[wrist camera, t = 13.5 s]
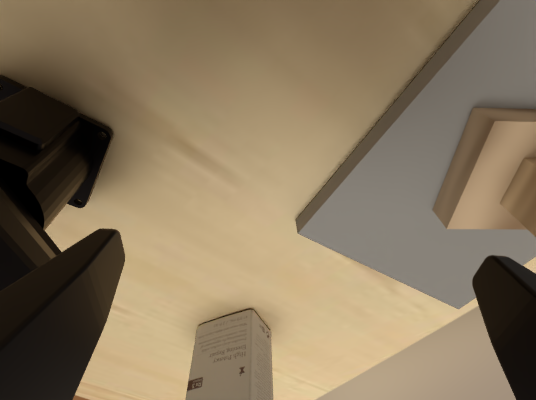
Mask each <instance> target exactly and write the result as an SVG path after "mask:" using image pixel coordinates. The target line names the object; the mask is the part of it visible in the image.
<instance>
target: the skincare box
mask: <svg viewBox="0 0 536 400" xmlns="http://www.w3.org/2000/svg"><path fill="white" fill-rule="evenodd" d="M186 400H273V378H272V352H271V332H270V331H269V329H268V328H267V326H266V325H265V324H264V322H263V321H262V320H261V319H260V317H259V316H258V315H257V314H256V313H255V311H254V310H246V311H243V312H240V313H236V314H233V315H229V316H226V317H222V318H219V319H216V320H213V321H210V322H207V323H204V324H202V325H200V326H199V327H198V328H197V332H196V338H195V344H194V350H193V356H192V363H191V369H190V375H189V381H188V387H187V394H186Z"/></svg>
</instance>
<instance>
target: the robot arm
mask: <svg viewBox="0 0 536 400" xmlns="http://www.w3.org/2000/svg"><path fill="white" fill-rule="evenodd" d="M0 84H1V85H2V86H3V89H2V88H0V400H73V397H74V395H75V393H76V390H77V388H78V386H79V384H80V381H81V379H82V377H83V374H84V372H85V370H86V368H87V365H88V363H89V361H90V358H91V356H92V354H93V352H94V349H95V347H96V345H97V342H98V340H99V338H100V336H101V333H102V331H103V328H104V326H105V323H106V321H107V318H108V315H109V312H110V308H111V305H112V302H113V299H114V295H115V292H116V289H117V286H118V282H119V279H120V276H121V273H122V270H123V266H124V262H125V253H124V248H123V244H122V240H121V235H120V233H119V231H118V230H116V229H98V230H96V231H95V232H93V233H92V234H90V235H88V236H87V237H85V238H84V239H82V240H80V241H79V242H77V243H76V244H74V245H73V246H71V247H69V248H68V249H66V250H65V251H63V252H61V251H60V250H59V248H58V247H57V246H56V245H55V243H54V242H53V241H52V240H51V238H50V237H49V236H48V235H47V233H46V232H45V229H46V228H47V227H48V226H49V224H50V223H51V222H52V221H53V220H54V218H55V217H56V216H57V215H58V213H59V212H60V211H61V210H62V209H63V207H64V206H65V205H66V204H69V205H72V206H74V207H77V208H83V207H85V205H86V204H87V203H88V201H89V198H90V196H91V193H92V190H93V188H94V185H95V183H96V180H97V177H98V175H99V172H100V170H101V167H102V164H103V162H104V159H105V157H106V154H107V151H108V149H109V146H110V144H111V141H112V138H113V132H112V130H111V129H110V128H109V127H107V126H105V125H103V124H101V123H99V122H97V121H95V120H93V119H91V118H89V117H87V116H85V115H83V114H80V113H79V112H78V111H77V110H76V109H74V108H72V107H70V106H68V105H66V104H64V103H62V102H60V101H58V100H56V99H54V98H52V97H50V96H48V95H46V94H44V93H42V92H40V91H38V90H36V89H34V88H31V87H29V88H27V87H25V86H23V85H21V84H19V83H17V82H15V81H13V80H11V79H9V78H7V77H5V76H2V75H0ZM100 132H103V133H105V134H106V137H103V136H102V135H101V134H100ZM77 199H79V200H81V201H82V202H81V201H78V200H77ZM472 286H473V289H474V292H475V295H476V298H477V301H478V305H479V308H480V310H481V313H482V316H483V319H484V323H485V326H486V329H487V332H488V334H489V337H490V340H491V343H492V346H493V348H494V350H495V353H496V355H497V357H498V360H499V362H500V364H501V366H502V368H503V371H504V373H505V375H506V378H507V380H508V382H509V384H510V387H511V389H512V391H513V393H514V396H515V398H516V400H536V274H535V273H533V272H532V271H530V270H529V269H527V268H525V267H524V266H522V265H521V264H519V263H517V262H516V261H514V260H513V259H511V258H509V257H507V256H498V255H490V256H488V257H486V258H485V259H484V261H483V262H482V264H481V265H480V267H479V269H478V270H477V272H476V273H475V275H474V276H473V279H472Z"/></svg>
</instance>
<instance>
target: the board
mask: <svg viewBox="0 0 536 400" xmlns="http://www.w3.org/2000/svg"><path fill="white" fill-rule="evenodd" d="M473 108H512V109H536V0H480V1H479V2H478V3H477V4H476V6H475V7H474V8H473V9H472V10H471V12H470V13H469V14H468V15H467V16H466V18H465V19H464V20H463V21H462V22H461V24H460V25H459V26H458V27H457V28H456V30H455V31H454V32H453V33H452V34H451V35H450V37H449V38H448V39H447V40H446V41H445V43H444V44H443V45H442V46H441V47H440V49H439V50H438V51H437V52H436V53H435V55H434V56H433V57H432V58H431V59H430V61H429V62H428V63H427V64H426V65H425V66H424V68H423V69H422V70H421V71H420V72H419V74H418V75H417V76H416V77H415V78H414V80H413V81H412V82H411V83H410V84H409V86H408V87H407V88H406V89H405V90H404V92H403V93H402V94H401V95H400V96H399V97H398V99H397V100H396V101H395V102H394V103H393V105H392V106H391V107H390V108H389V109H388V111H387V112H386V113H385V114H384V115H383V117H382V118H381V119H380V120H379V121H378V123H377V124H376V125H375V126H374V127H373V129H372V130H371V131H370V132H369V133H368V134H367V136H366V137H365V138H364V139H363V140H362V142H361V143H360V144H359V145H358V146H357V148H356V149H355V150H354V151H353V152H352V154H351V155H350V156H349V157H348V158H347V160H346V161H345V162H344V163H343V164H342V165H341V167H340V168H339V169H338V170H337V171H336V173H335V174H334V175H333V176H332V177H331V179H330V180H329V181H328V182H327V183H326V185H325V186H324V187H323V188H322V189H321V191H320V192H319V193H318V194H317V195H316V196H315V198H314V199H313V200H312V201H311V202H310V204H309V205H308V206H307V207H306V208H305V210H304V211H303V212H302V213H301V214H300V216H299V217H298V218H297V219H296V226H297V232H298V234H300V235H302V236H304V237H306V238H308V239H310V240H312V241H315V242H317V243H319V244H321V245H323V246H325V247H327V248H329V249H332V250H334V251H336V252H338V253H340V254H342V255H344V256H346V257H349V258H351V259H353V260H355V261H357V262H359V263H361V264H363V265H366V266H368V267H370V268H372V269H374V270H376V271H378V272H380V273H382V274H385V275H387V276H389V277H391V278H393V279H395V280H397V281H399V282H402V283H404V284H406V285H408V286H410V287H412V288H414V289H416V290H419V291H421V292H423V293H425V294H427V295H429V296H431V297H433V298H436V299H438V300H440V301H442V302H444V303H446V304H448V305H450V306H453V307H455V308H457V309H460V308H461V307H463V306H464V305H466V304H467V303H469V302H470V301H472V300H473V299H475V298H476V295H475V292H474V289H473V286H472V279H473V276H474V275H475V273H476V272H477V270H478V269H479V267H480V265H481V264H482V262H483V261H484V259H485V258H486V257H488V256H490V255H498V256H507V257H509V258H511V259H513V260H514V261H516V262H517V263H519V264H521V265H522V266H523V265H524V264H526V263H527V262H528V261H530V260H531V259H533V258H534V257H536V237H535V236H534V235H533V234H532V233H531V232H530V231H528V230H517V229H446V228H445V226H444V225H443V224H442V222H441V221H440V220H439V218H438V217H437V216H436V214H435V213H434V212H433V207H434V205H435V202H436V200H437V197H438V194H439V192H440V189H441V187H442V184H443V182H444V179H445V177H446V174H447V172H448V169H449V167H450V164H451V162H452V159H453V157H454V154H455V152H456V149H457V147H458V144H459V142H460V139H461V137H462V134H463V131H464V129H465V126H466V124H467V121H468V119H469V116H470V114H471V111H472V109H473Z"/></svg>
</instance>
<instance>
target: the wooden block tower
mask: <svg viewBox="0 0 536 400" xmlns="http://www.w3.org/2000/svg"><path fill="white" fill-rule="evenodd" d="M433 212H434V213H435V214H436V216H437V217H438V218H439V220H440V221H441V222H442V224H443V225H444V226H445V228H446V229H517V230H528V231H530V232H531V233H532V234H533V235H534V236H535V237H536V109H512V108H473V109H472V111H471V114H470V116H469V119H468V121H467V124H466V126H465V129H464V131H463V134H462V137H461V139H460V142H459V144H458V147H457V149H456V152H455V154H454V157H453V159H452V162H451V164H450V167H449V169H448V172H447V174H446V177H445V179H444V182H443V184H442V187H441V189H440V192H439V194H438V197H437V200H436V202H435V205H434V207H433Z"/></svg>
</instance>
